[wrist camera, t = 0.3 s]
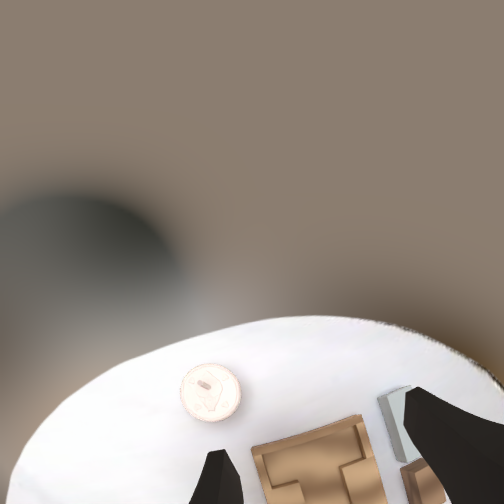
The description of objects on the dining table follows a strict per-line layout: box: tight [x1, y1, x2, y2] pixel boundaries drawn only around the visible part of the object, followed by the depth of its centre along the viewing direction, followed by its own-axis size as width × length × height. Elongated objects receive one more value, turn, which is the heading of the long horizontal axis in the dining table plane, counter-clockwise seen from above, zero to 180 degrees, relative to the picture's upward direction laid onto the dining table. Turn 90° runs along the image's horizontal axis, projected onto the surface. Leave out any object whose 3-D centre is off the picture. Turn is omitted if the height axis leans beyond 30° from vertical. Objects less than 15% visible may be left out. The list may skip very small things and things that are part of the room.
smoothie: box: [180, 364, 241, 422], centre depth 32 cm, size 6×6×14 cm
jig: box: [251, 414, 388, 504], centre depth 29 cm, size 18×14×3 cm
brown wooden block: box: [400, 458, 446, 504], centre depth 27 cm, size 7×3×5 cm, turn 15°
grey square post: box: [378, 385, 421, 463], centre depth 32 cm, size 4×10×4 cm, turn 15°
